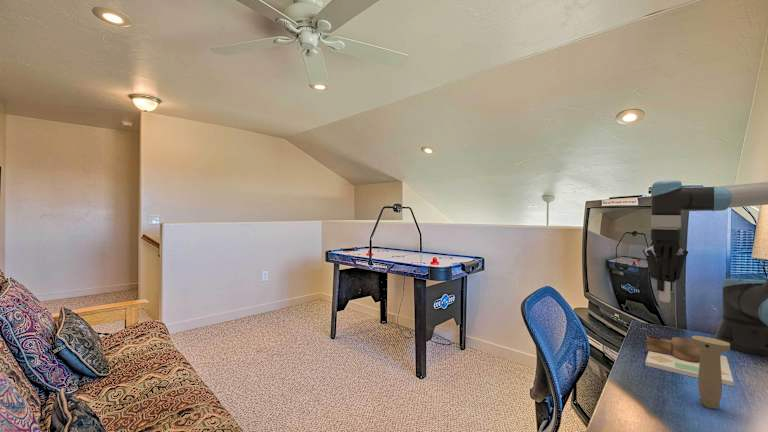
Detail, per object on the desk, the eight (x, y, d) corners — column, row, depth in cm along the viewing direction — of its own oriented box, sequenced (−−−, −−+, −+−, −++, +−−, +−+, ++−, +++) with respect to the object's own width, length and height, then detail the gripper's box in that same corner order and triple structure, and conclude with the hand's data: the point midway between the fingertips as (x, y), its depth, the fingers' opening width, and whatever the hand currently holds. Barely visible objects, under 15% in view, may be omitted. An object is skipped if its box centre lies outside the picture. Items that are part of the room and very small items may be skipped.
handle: (726, 416, 75) (726, 347, 75) (687, 402, 80) (688, 338, 80) (731, 409, 77) (732, 342, 77) (694, 396, 83) (695, 334, 83)
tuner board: (726, 360, 104) (726, 356, 104) (733, 386, 88) (733, 381, 88) (651, 345, 116) (651, 341, 116) (645, 365, 100) (645, 361, 100)
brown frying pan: (702, 356, 103) (702, 341, 103) (703, 363, 98) (703, 347, 98) (648, 345, 112) (648, 331, 112) (645, 351, 107) (646, 336, 107)
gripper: (676, 228, 115) (675, 298, 115) (636, 227, 115) (635, 298, 115) (696, 229, 108) (695, 304, 108) (653, 228, 108) (652, 303, 108)
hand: (664, 301), depth 112 cm, fingers closed
